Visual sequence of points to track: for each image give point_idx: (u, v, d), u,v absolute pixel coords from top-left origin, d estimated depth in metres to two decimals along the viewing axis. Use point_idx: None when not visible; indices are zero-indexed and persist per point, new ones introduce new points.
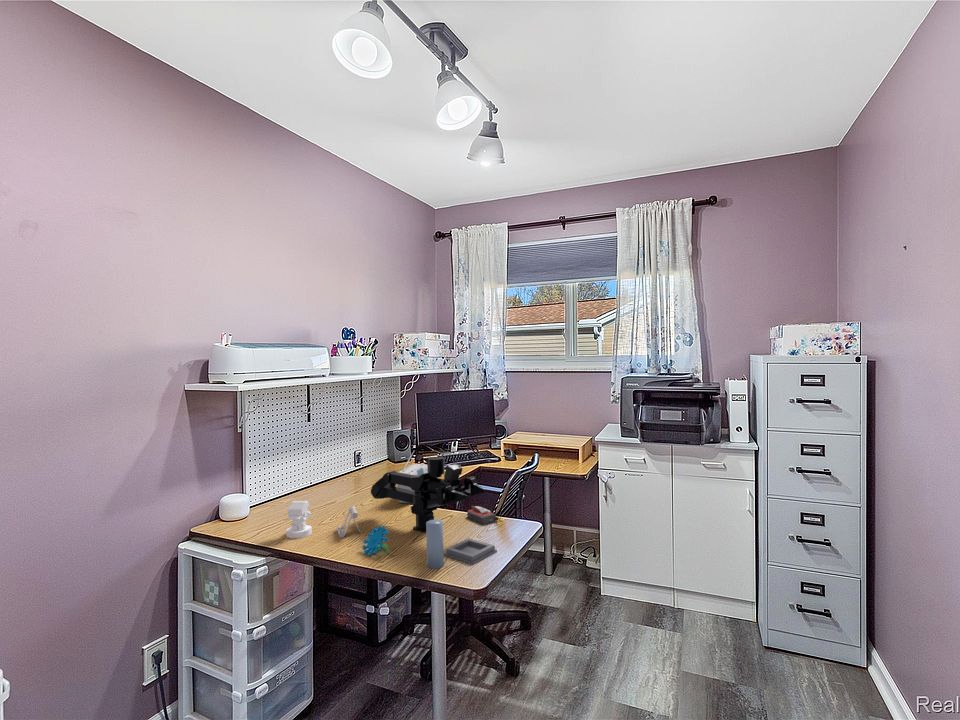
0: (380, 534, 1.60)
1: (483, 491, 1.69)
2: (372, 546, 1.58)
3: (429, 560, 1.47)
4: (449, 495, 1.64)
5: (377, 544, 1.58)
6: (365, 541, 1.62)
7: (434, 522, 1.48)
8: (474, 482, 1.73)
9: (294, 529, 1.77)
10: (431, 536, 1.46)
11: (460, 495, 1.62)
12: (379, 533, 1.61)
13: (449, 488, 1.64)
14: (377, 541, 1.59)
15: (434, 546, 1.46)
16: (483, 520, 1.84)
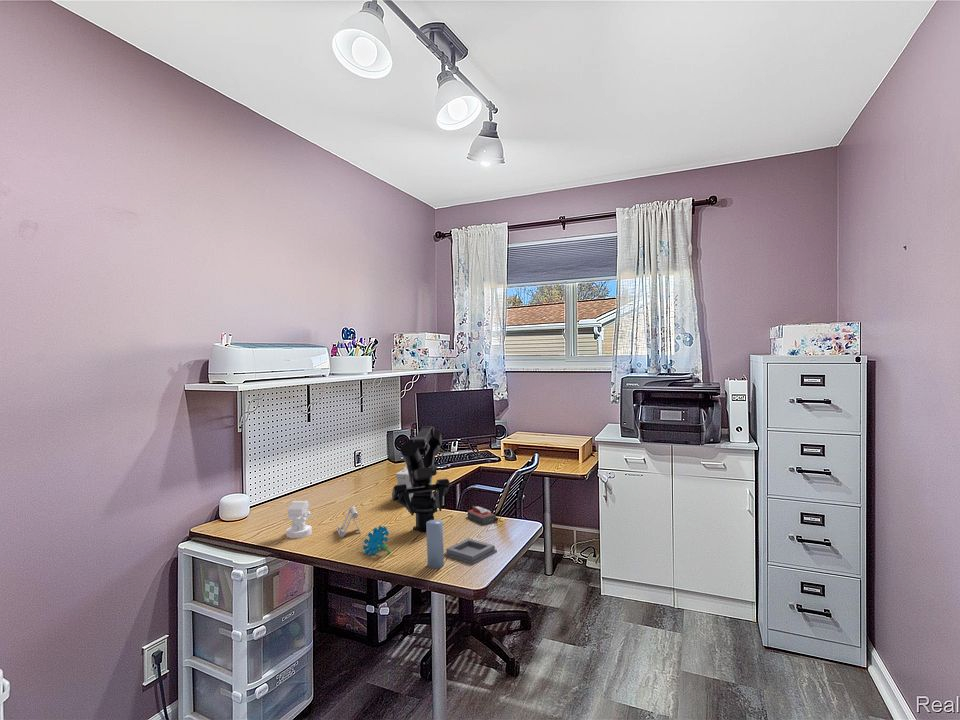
0: (380, 534, 1.60)
1: (439, 509, 1.58)
2: (372, 546, 1.58)
3: (429, 560, 1.47)
4: (403, 497, 1.58)
5: (377, 544, 1.58)
6: (366, 541, 1.62)
7: (434, 522, 1.48)
8: (441, 491, 1.61)
9: (294, 529, 1.77)
10: (431, 536, 1.46)
11: (409, 508, 1.55)
12: (380, 533, 1.61)
13: (404, 494, 1.56)
14: (377, 541, 1.59)
15: (434, 546, 1.46)
16: (483, 520, 1.84)
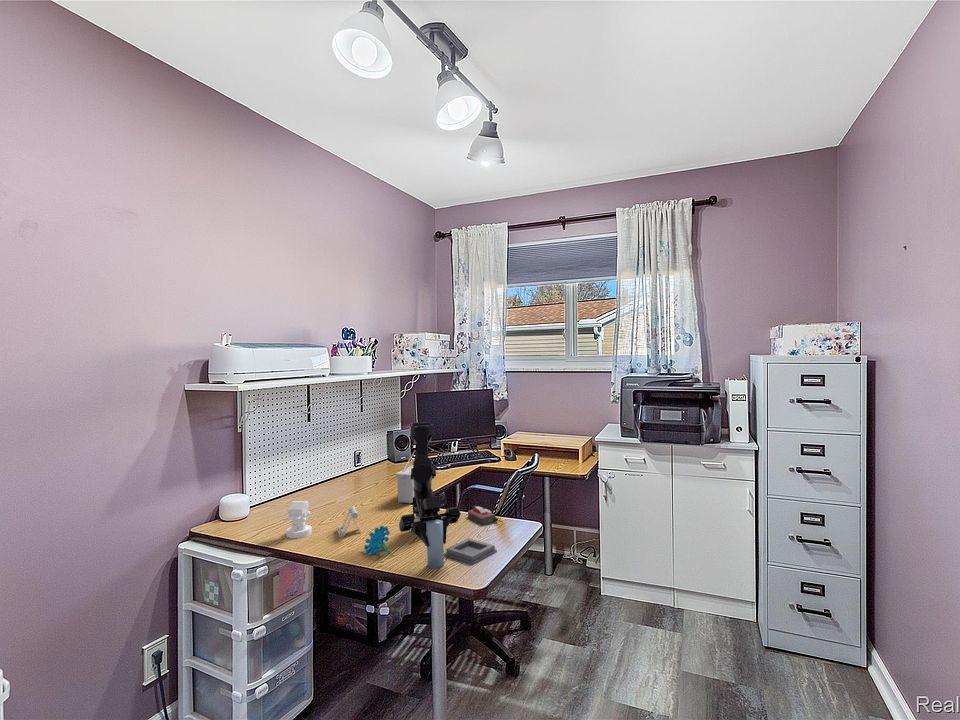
0: (381, 534, 1.60)
1: (443, 542, 1.48)
2: (373, 546, 1.59)
3: (429, 560, 1.47)
4: (417, 527, 1.50)
5: (378, 544, 1.58)
6: (367, 540, 1.62)
7: (434, 522, 1.48)
8: (445, 522, 1.51)
9: (294, 529, 1.77)
10: (431, 536, 1.46)
11: (423, 539, 1.47)
12: (381, 533, 1.61)
13: (418, 524, 1.48)
14: (378, 541, 1.59)
15: (434, 546, 1.46)
16: (482, 520, 1.84)
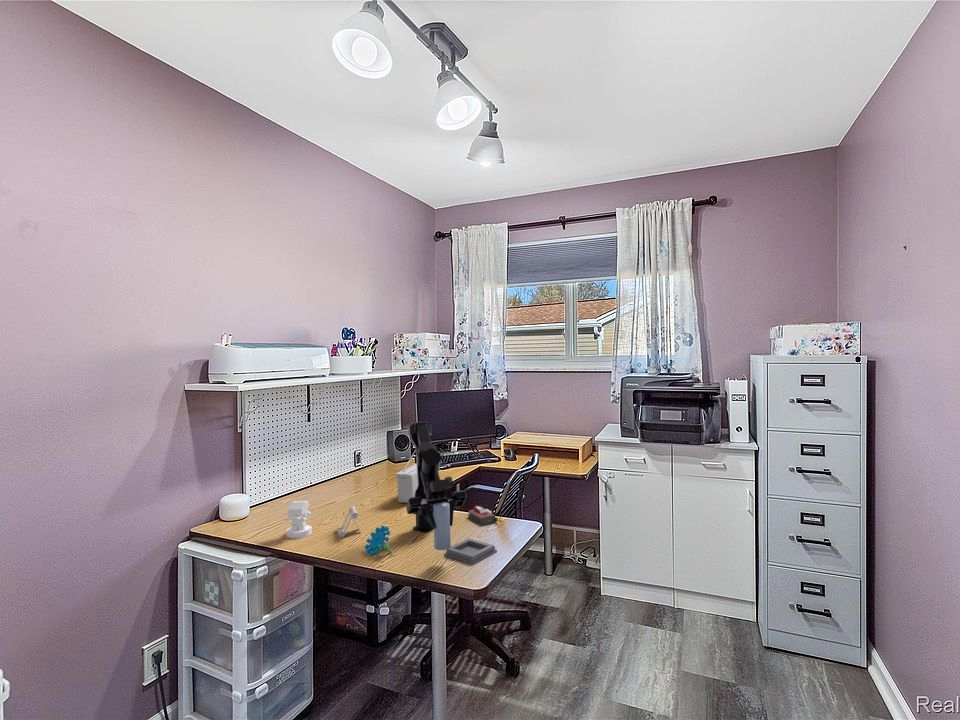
0: (382, 534, 1.61)
1: (450, 524, 1.50)
2: (374, 545, 1.59)
3: (436, 542, 1.48)
4: (424, 509, 1.51)
5: (378, 544, 1.58)
6: (368, 540, 1.62)
7: (441, 504, 1.50)
8: (452, 505, 1.53)
9: (294, 529, 1.77)
10: (437, 518, 1.48)
11: (430, 521, 1.49)
12: (381, 533, 1.61)
13: (426, 506, 1.50)
14: (379, 541, 1.59)
15: (440, 528, 1.48)
16: (481, 520, 1.83)
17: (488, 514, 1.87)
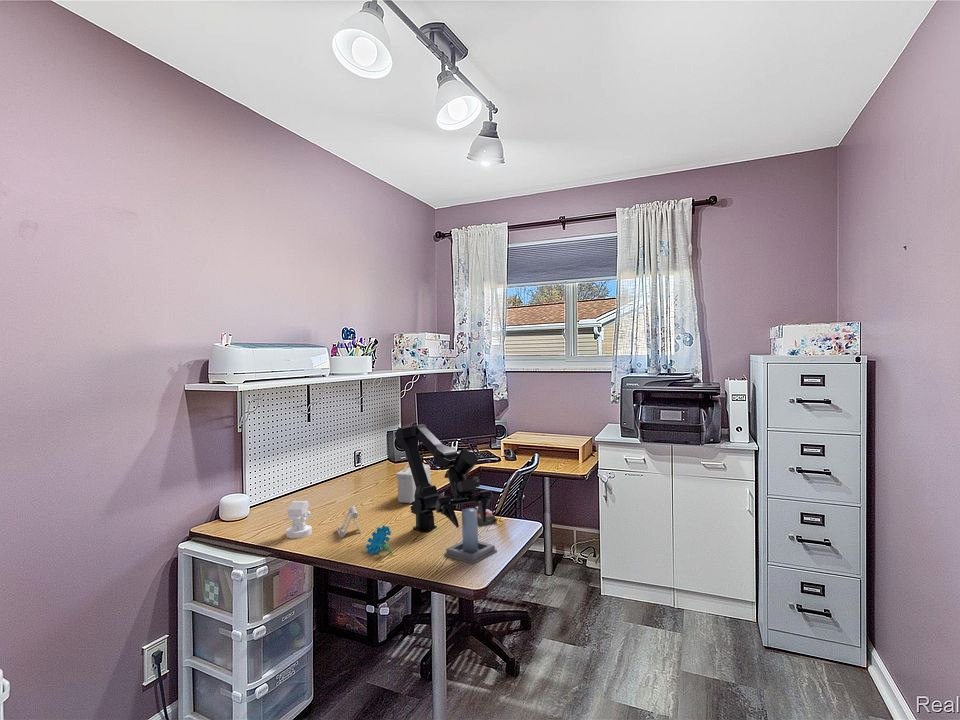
0: (383, 534, 1.61)
1: (483, 521, 1.57)
2: (374, 545, 1.59)
3: (465, 546, 1.55)
4: (447, 509, 1.57)
5: (379, 543, 1.58)
6: (369, 540, 1.63)
7: (469, 510, 1.57)
8: (484, 503, 1.60)
9: (294, 529, 1.77)
10: (466, 522, 1.55)
11: (454, 520, 1.54)
12: (382, 533, 1.61)
13: (449, 506, 1.55)
14: (379, 540, 1.59)
15: (469, 532, 1.54)
16: (480, 520, 1.83)
17: (488, 514, 1.86)
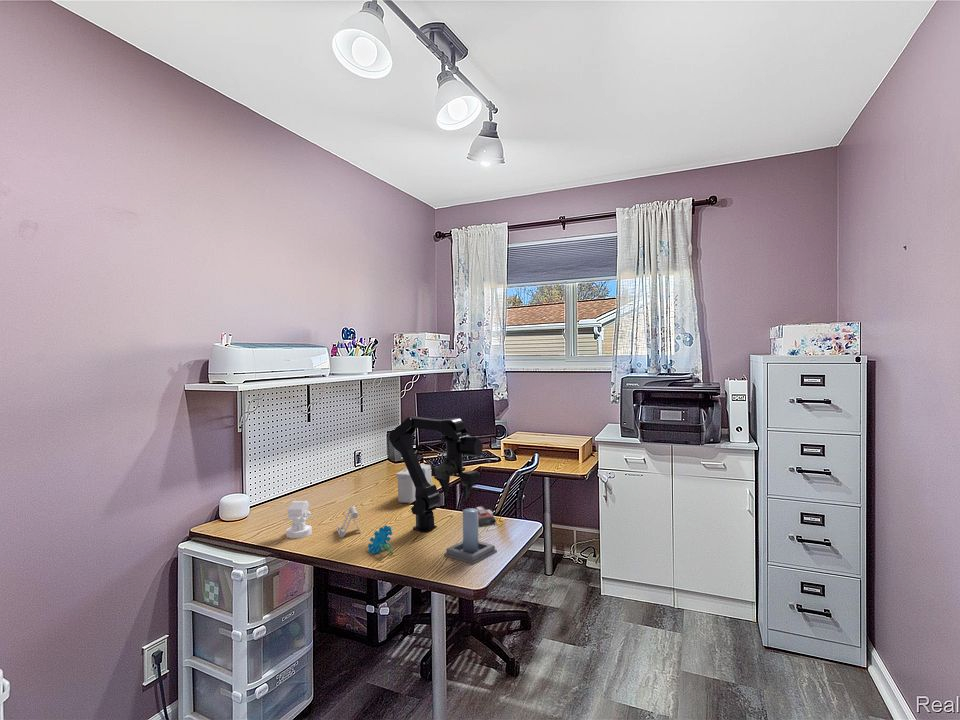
0: (384, 533, 1.61)
1: None
2: (376, 545, 1.59)
3: (465, 546, 1.55)
4: None
5: (380, 543, 1.58)
6: (371, 539, 1.63)
7: (470, 510, 1.56)
8: (464, 485, 1.69)
9: (294, 529, 1.77)
10: (467, 523, 1.54)
11: None
12: (384, 532, 1.61)
13: (437, 479, 1.76)
14: (381, 540, 1.59)
15: (470, 533, 1.54)
16: (479, 521, 1.83)
17: (487, 515, 1.86)
